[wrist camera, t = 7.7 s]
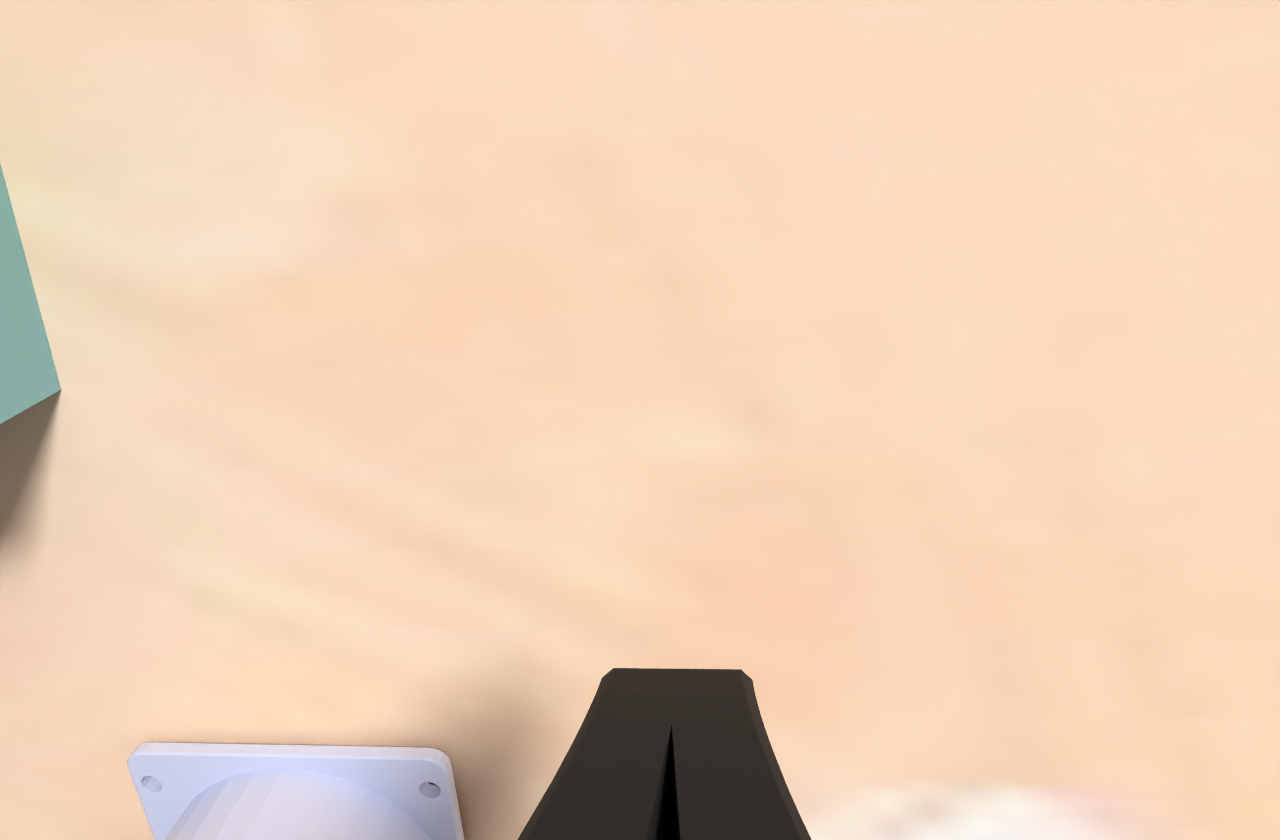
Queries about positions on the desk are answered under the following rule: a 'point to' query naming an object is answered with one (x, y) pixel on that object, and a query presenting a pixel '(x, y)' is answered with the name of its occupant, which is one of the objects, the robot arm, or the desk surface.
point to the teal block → (20, 325)
